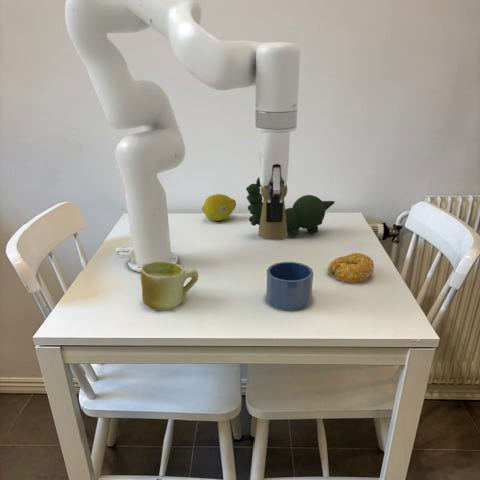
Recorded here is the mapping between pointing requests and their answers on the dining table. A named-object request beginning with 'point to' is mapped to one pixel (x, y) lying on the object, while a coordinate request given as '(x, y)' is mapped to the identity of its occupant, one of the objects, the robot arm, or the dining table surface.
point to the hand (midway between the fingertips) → (273, 216)
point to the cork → (272, 228)
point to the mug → (165, 284)
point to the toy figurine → (291, 211)
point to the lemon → (218, 207)
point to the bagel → (352, 267)
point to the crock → (289, 286)
